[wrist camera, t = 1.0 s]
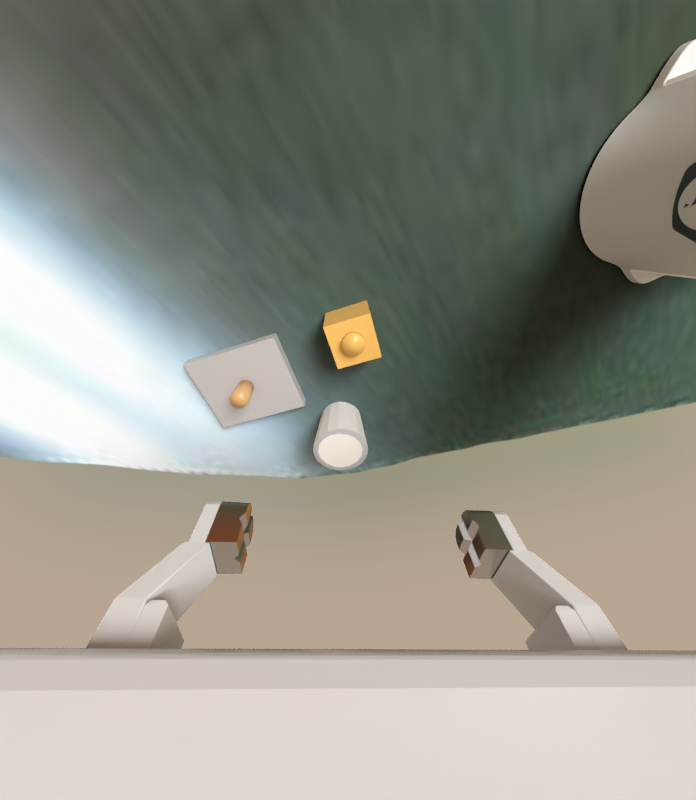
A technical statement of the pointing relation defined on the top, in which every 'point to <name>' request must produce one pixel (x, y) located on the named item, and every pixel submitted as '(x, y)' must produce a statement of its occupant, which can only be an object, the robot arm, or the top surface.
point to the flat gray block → (247, 381)
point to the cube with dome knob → (351, 335)
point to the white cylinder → (340, 437)
